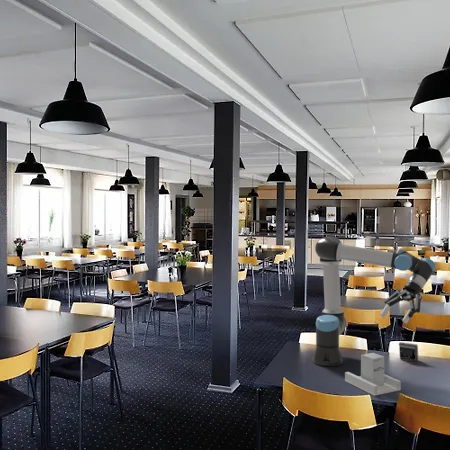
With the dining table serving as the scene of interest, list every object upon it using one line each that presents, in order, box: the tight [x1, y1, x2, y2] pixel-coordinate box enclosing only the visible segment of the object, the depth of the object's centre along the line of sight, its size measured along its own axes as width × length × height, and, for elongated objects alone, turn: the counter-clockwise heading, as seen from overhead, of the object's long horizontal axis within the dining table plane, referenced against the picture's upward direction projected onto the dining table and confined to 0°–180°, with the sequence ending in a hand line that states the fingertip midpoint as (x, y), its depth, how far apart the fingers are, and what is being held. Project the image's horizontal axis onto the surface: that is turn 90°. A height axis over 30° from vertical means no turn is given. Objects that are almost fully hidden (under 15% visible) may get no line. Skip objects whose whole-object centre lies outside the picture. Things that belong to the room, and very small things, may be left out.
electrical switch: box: [398, 341, 419, 363], centre depth 241 cm, size 9×5×9 cm, turn 57°
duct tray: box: [344, 371, 402, 397], centre depth 206 cm, size 19×15×4 cm
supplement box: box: [360, 352, 385, 386], centre depth 205 cm, size 7×7×13 cm
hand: (392, 319), depth 220 cm, fingers open, 13 cm apart
